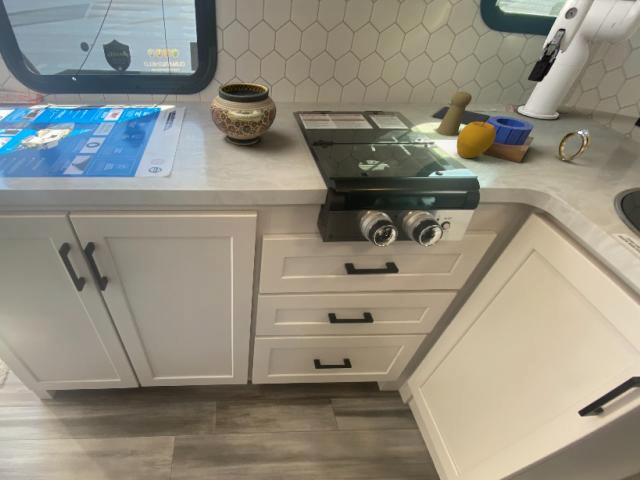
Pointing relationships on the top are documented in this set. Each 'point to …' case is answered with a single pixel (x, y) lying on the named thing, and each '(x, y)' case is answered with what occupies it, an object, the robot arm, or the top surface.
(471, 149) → the apple
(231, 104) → the floral ceramic pot
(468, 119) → the mat
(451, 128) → the tan pawn figure
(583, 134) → the ring
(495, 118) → the ring
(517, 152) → the platform
